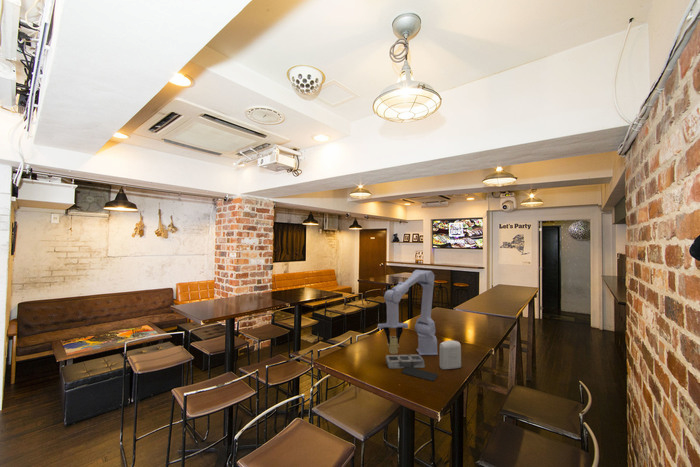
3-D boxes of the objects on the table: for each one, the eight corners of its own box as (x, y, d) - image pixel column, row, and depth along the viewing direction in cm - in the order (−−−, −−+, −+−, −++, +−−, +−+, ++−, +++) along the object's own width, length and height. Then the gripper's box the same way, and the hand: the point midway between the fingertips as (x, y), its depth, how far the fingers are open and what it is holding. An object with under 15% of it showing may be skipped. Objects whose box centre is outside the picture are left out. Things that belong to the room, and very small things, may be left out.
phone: (433, 381, 118) (400, 372, 127) (433, 383, 118) (400, 374, 127) (438, 374, 125) (406, 366, 133) (438, 376, 125) (406, 367, 133)
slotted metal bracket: (419, 360, 140) (419, 354, 140) (424, 367, 132) (424, 361, 132) (385, 361, 139) (385, 355, 140) (388, 368, 131) (388, 362, 132)
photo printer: (457, 364, 135) (456, 338, 136) (462, 368, 131) (462, 341, 132) (438, 366, 133) (437, 340, 133) (443, 370, 129) (442, 343, 129)
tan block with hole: (397, 349, 138) (397, 335, 139) (399, 353, 133) (399, 338, 134) (387, 350, 138) (387, 335, 138) (389, 354, 133) (388, 339, 133)
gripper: (379, 317, 132) (379, 346, 132) (409, 316, 133) (409, 345, 132) (377, 313, 139) (377, 341, 139) (405, 313, 140) (406, 340, 139)
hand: (393, 343), depth 136 cm, fingers closed on tan block with hole, 4 cm apart
